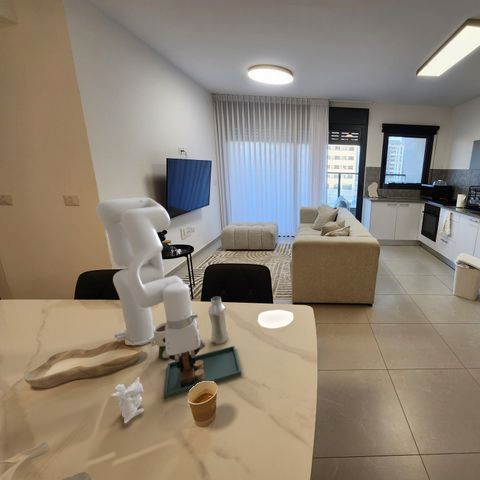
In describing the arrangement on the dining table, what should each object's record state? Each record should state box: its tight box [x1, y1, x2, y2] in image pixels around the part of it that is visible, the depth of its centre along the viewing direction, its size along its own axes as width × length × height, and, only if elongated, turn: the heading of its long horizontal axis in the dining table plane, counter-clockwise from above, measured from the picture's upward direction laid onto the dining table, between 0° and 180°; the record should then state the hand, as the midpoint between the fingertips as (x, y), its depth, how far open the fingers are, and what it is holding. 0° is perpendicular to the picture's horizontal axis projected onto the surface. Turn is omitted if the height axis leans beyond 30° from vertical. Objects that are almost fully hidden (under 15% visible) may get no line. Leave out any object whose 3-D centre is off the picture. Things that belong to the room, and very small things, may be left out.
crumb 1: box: [194, 360, 203, 370], centre depth 94 cm, size 3×3×2 cm
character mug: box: [150, 321, 171, 361], centre depth 99 cm, size 11×7×13 cm, turn 155°
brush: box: [180, 351, 195, 388], centre depth 90 cm, size 4×10×9 cm, turn 26°
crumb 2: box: [194, 369, 204, 380], centre depth 90 cm, size 3×3×2 cm
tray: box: [164, 345, 242, 400], centre depth 93 cm, size 23×15×2 cm, turn 116°
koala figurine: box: [110, 376, 145, 424], centre depth 75 cm, size 8×7×12 cm
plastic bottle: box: [208, 296, 229, 345], centre depth 107 cm, size 6×7×20 cm
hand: (186, 366), depth 90 cm, fingers closed on brush, 2 cm apart
